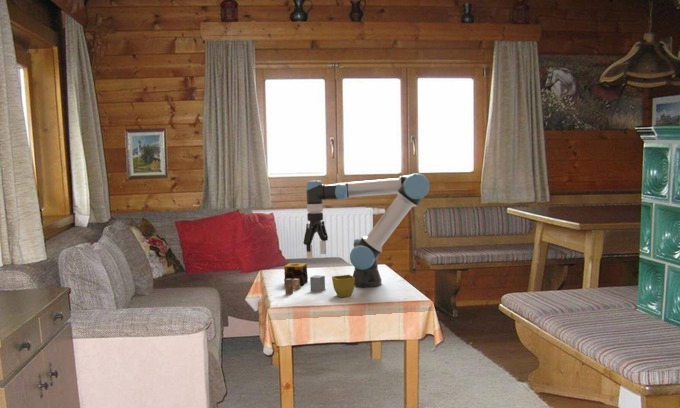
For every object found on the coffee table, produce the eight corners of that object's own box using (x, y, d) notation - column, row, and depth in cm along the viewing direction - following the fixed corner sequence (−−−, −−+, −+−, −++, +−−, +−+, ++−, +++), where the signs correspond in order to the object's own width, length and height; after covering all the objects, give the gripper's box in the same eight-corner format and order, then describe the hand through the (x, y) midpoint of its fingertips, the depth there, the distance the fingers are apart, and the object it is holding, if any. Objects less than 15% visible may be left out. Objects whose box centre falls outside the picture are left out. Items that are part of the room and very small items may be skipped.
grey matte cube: (325, 289, 311) (324, 275, 311) (320, 291, 307) (319, 277, 306) (315, 288, 313) (315, 275, 313) (310, 290, 309) (310, 277, 308)
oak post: (299, 288, 314) (299, 278, 313) (297, 289, 311) (296, 279, 311) (295, 288, 315) (295, 278, 314) (292, 289, 313) (292, 279, 312)
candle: (303, 286, 321) (302, 266, 320) (284, 285, 323) (283, 266, 322) (308, 282, 331) (307, 263, 330) (289, 281, 333) (288, 262, 332)
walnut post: (293, 293, 304) (292, 278, 303) (290, 294, 302) (289, 279, 301) (288, 292, 305) (287, 278, 305) (285, 294, 303) (285, 279, 302)
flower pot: (337, 298, 289) (336, 279, 289) (332, 295, 298) (331, 276, 297) (355, 297, 292) (355, 277, 291) (350, 293, 300) (349, 274, 300)
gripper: (320, 210, 320) (322, 251, 322) (295, 214, 298) (296, 259, 300) (333, 210, 317) (335, 252, 318) (309, 215, 295) (310, 260, 296)
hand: (316, 256), depth 309 cm, fingers open, 13 cm apart
